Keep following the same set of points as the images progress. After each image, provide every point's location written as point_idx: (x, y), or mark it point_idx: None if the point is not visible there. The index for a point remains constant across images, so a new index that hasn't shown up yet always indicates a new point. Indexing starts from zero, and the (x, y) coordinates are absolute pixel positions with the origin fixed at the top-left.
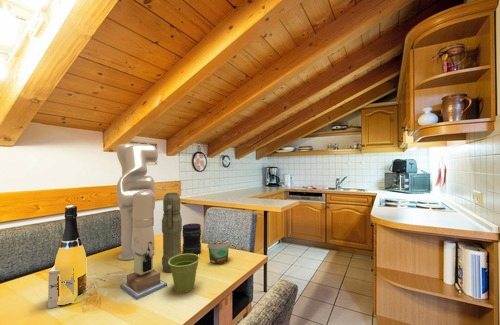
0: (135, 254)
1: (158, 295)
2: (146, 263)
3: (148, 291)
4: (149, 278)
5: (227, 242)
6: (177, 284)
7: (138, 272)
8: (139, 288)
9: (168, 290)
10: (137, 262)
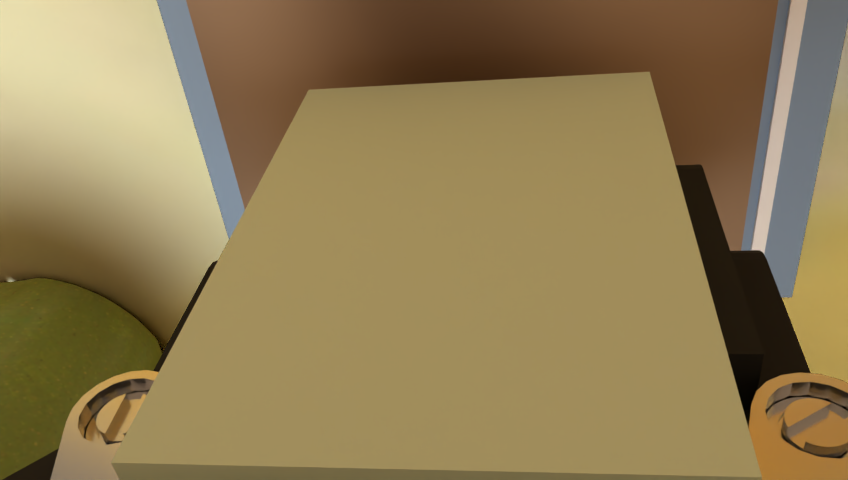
0: (600, 465)
1: (72, 100)
2: (159, 366)
3: (179, 36)
4: (247, 179)
5: None
6: None
7: (399, 102)
8: None
9: (131, 237)
10: (420, 252)
